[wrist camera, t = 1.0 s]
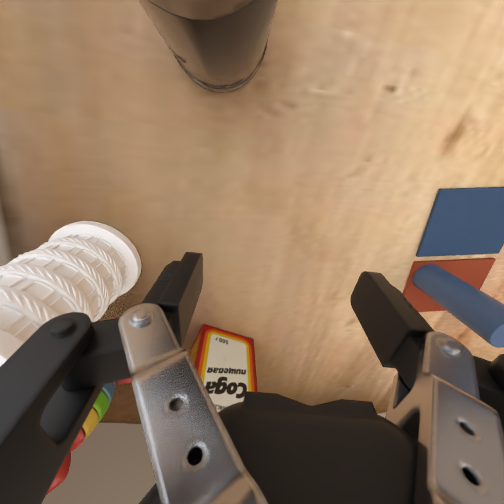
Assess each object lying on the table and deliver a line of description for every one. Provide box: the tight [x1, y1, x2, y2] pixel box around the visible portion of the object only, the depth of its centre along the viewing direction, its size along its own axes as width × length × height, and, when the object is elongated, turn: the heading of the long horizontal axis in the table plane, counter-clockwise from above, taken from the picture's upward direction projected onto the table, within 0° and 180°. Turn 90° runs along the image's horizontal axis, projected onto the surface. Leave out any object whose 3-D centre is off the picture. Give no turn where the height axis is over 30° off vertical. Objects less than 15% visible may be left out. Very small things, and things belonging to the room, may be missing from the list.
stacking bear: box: [46, 378, 131, 495], centre depth 32 cm, size 11×10×18 cm
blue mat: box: [416, 187, 504, 257], centre depth 31 cm, size 10×13×1 cm
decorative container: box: [0, 221, 142, 367], centre depth 23 cm, size 12×12×18 cm
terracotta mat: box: [403, 258, 495, 312], centre depth 36 cm, size 10×13×1 cm
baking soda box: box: [189, 324, 258, 412], centre depth 32 cm, size 10×6×16 cm
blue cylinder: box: [412, 264, 504, 347], centre depth 29 cm, size 4×4×12 cm
